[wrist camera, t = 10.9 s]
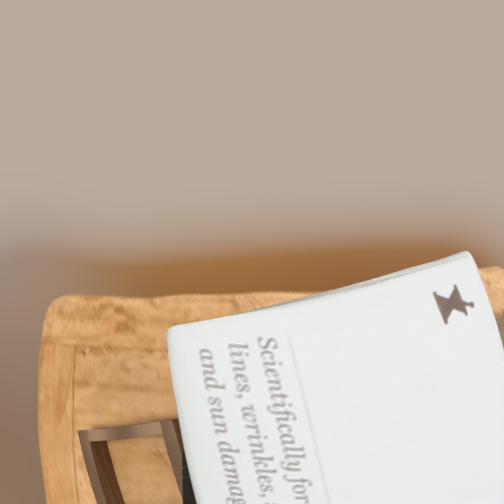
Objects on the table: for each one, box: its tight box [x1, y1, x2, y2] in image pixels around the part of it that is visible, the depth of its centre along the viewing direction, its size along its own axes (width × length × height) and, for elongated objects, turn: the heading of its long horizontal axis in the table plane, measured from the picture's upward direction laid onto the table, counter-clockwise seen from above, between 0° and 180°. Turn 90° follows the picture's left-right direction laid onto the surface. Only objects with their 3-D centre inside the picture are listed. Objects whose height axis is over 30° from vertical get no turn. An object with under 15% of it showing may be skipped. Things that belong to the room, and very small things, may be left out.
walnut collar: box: [78, 419, 184, 504], centre depth 22 cm, size 10×12×4 cm
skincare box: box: [166, 251, 504, 504], centre depth 9 cm, size 8×6×15 cm
